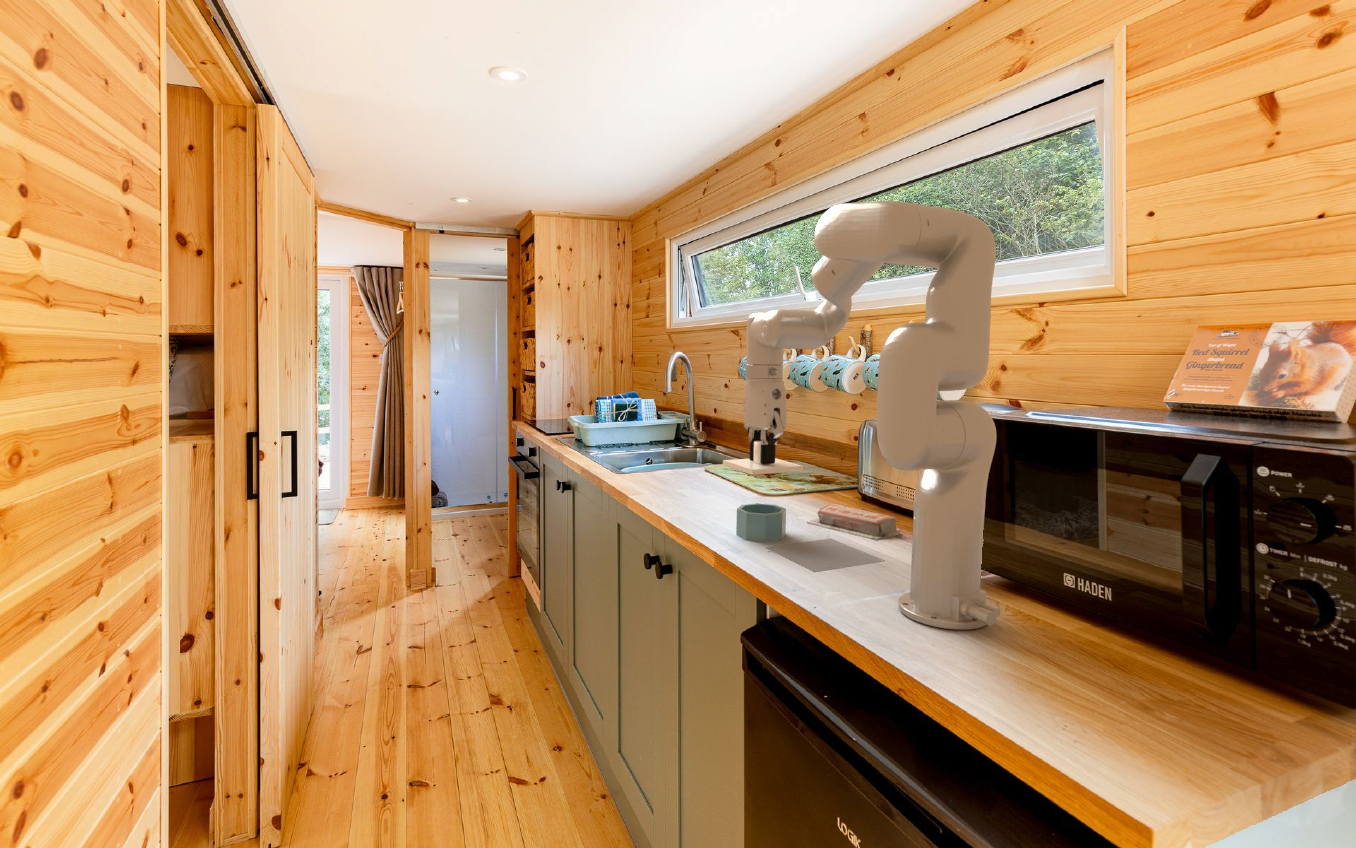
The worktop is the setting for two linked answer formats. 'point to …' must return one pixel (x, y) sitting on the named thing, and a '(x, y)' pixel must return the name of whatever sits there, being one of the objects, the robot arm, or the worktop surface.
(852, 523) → the packaged product
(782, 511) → the bowl
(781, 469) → the lid
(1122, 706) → the worktop surface
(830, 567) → the mat
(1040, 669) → the worktop surface
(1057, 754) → the worktop surface
